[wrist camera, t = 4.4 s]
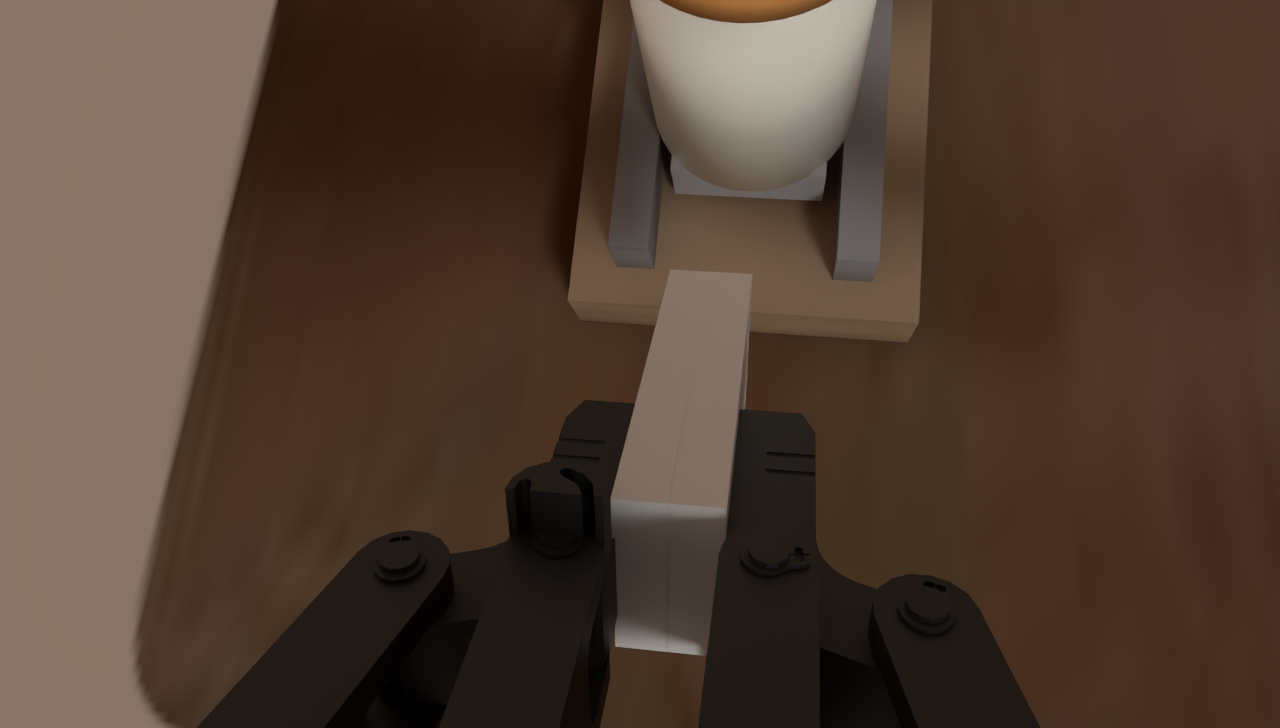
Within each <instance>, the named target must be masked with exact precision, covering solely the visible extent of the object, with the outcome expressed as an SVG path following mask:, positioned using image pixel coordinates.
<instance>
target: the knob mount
mask: <svg viewBox="0 0 1280 728" xmlns="http://www.w3.org/2000/svg"><path fill="white" fill-rule="evenodd" d="M932 1H933V0H877V1H876V6H875V11H874V16H873V21H872V26H871V31H870V36H869V41H868V46H867V51H866V56H865V61H864V66H863V71H862V76H861V81H860V86H859V91H858V96H857V101H856V106H855V111H854V116H853V119H852V123H851V126H850V128H849V131H848V133H847V135H846V137H845V139H844V141H843V142H842V144H841V145H840V147H839V148H838V150H837V151H836V152H835V153H834V155H833V156H832V157H831V158H830V159H829V160H828V161H827V169H826V180H825V186H824V192H823V198H822V201H810V200H790V199H770V198H750V197H730V196H710V195H690V194H675V189H674V184H673V179H672V174H671V169H670V168H671V158H672V154H671V153H670V152H669V150H668V148H667V147H666V145H665V143H664V142H663V140H662V138H661V135H660V133H659V130H658V127H657V123H656V119H655V115H654V110H653V106H652V101H651V97H650V92H649V87H648V83H647V78H646V73H645V69H644V64H643V59H642V55H641V50H640V45H639V41H638V36H637V32H636V27H635V22H634V18H633V13H632V8H631V4H630V0H603V8H602V16H601V25H600V33H599V41H598V50H597V58H596V67H595V75H594V83H593V92H592V100H591V109H590V117H589V125H588V134H587V142H586V151H585V159H584V167H583V176H582V184H581V193H580V201H579V209H578V218H577V226H576V235H575V243H574V251H573V260H572V268H571V277H570V285H569V293H568V302H569V303H570V305H571V306H572V308H573V309H574V311H575V312H576V314H577V316H578V317H579V319H580V320H583V321H598V322H612V323H627V324H642V325H656V323H657V319H658V315H659V311H660V307H661V304H662V300H663V296H664V292H665V288H666V285H667V281H668V277H669V273H670V269H672V270H690V271H708V272H726V273H744V274H752V292H751V310H750V329H749V332H760V333H775V334H790V335H805V336H820V337H834V338H849V339H864V340H879V341H894V342H908V341H909V339H910V337H911V336H912V334H913V332H914V331H915V329H916V327H917V325H918V324H919V309H920V286H921V262H922V238H923V214H924V191H925V167H926V143H927V119H928V96H929V72H930V48H931V25H932Z"/></svg>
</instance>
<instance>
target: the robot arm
mask: <svg viewBox="0 0 1280 728" xmlns="http://www.w3.org/2000/svg"><path fill="white" fill-rule="evenodd" d="M751 292H752V274H744V273H726V272H708V271H690V270H672V269H670V273H669V277H668V281H667V285H666V288H665V292H664V296H663V300H662V304H661V307H660V311H659V315H658V319H657V323H656V327H655V330H654V334H653V338H652V342H651V346H650V349H649V353H648V357H647V361H646V365H645V369H644V372H643V376H642V380H641V384H640V388H639V392H638V395H637V399H636V403H635V404H632V403H619V402H605V401H591V400H585V401H583V402H582V403H581V404H580V405H579V406H578V407H577V408H576V409H575V410H574V411H572V412H571V413H570V414H569V415H568V416H567V417H566V419H565V422H564V425H563V427H562V430H561V433H560V436H559V442H557V444H556V447H555V450H554V453H553V458H551V461H550V462H547V463H542V464H539V465H535V466H532V467H528V468H526V469H525V470H523V471H522V472H520V473H518V474H517V475H515V476H514V477H513V478H512V479H511V481H510V482H509V483H508V485H507V486H506V487H505V495H506V504H507V514H508V523H509V533H510V536H509V539H508V540H507V541H505V542H503V543H500V544H498V545H495V546H493V547H489V548H484V549H480V550H475V551H468V552H461V553H454V554H450V553H449V549H448V548H447V547H446V545H445V544H444V543H443V541H442V540H441V539H439V538H437V537H435V536H433V535H431V534H429V533H427V532H418V531H410V530H408V531H401V532H395V533H389V534H387V535H384V536H382V537H380V538H377V539H375V540H372V541H371V542H370V543H369V544H367V545H366V546H365V547H363V548H362V549H361V550H360V551H358V552H357V553H356V555H355V556H354V557H353V558H352V559H351V560H350V561H349V562H348V563H347V564H346V565H345V567H344V568H343V569H342V570H341V571H340V572H339V573H338V574H337V575H336V576H335V577H334V579H333V580H332V581H331V582H330V583H329V584H328V585H327V586H326V587H325V588H324V589H323V591H322V592H321V593H320V594H319V595H318V596H317V597H316V598H315V599H314V600H313V601H312V603H311V604H310V605H309V606H308V607H307V608H306V609H305V610H304V611H303V612H302V613H301V615H300V616H299V617H298V618H297V619H296V620H295V621H294V622H293V623H292V624H291V625H290V627H289V628H288V629H287V630H286V631H285V632H284V633H283V634H282V635H281V636H280V637H279V639H278V640H277V641H276V642H275V643H274V644H273V645H272V646H271V647H270V648H269V649H268V651H267V652H266V653H265V654H264V655H263V656H262V657H261V658H260V659H259V660H258V661H257V663H256V664H255V665H254V666H253V667H252V668H251V669H250V670H249V671H248V672H247V673H246V675H245V676H244V677H243V678H242V679H241V680H240V681H239V682H238V683H237V684H236V685H235V687H234V688H233V689H232V690H231V691H230V692H229V693H228V694H227V695H226V696H225V697H224V699H223V700H222V701H221V702H220V703H219V704H218V705H217V706H216V707H215V708H214V709H213V710H212V712H211V713H210V714H209V715H208V716H207V717H206V718H205V719H204V720H203V721H202V722H201V724H200V725H199V726H198V727H197V728H600V724H601V719H602V714H603V709H604V705H605V700H606V695H607V690H608V686H609V681H610V658H609V651H610V647H611V642H612V638H613V633H614V629H615V646H616V647H626V648H635V649H645V650H655V651H664V652H674V653H683V654H693V655H703V656H707V658H706V667H705V675H704V684H703V692H702V701H701V709H700V718H699V726H698V728H1040V726H1039V724H1038V722H1037V721H1036V719H1035V717H1034V715H1033V713H1032V711H1031V709H1030V707H1029V705H1028V703H1027V701H1026V699H1025V697H1024V695H1023V693H1022V691H1021V689H1020V687H1019V685H1018V683H1017V682H1016V680H1015V678H1014V676H1013V674H1012V672H1011V670H1010V668H1009V666H1008V664H1007V662H1006V660H1005V658H1004V656H1003V654H1002V652H1001V650H1000V648H999V646H998V645H997V643H996V641H995V639H994V637H993V635H992V633H991V631H990V629H989V627H988V625H987V623H986V621H985V619H984V617H983V615H982V613H981V611H980V609H979V608H978V606H977V605H976V604H975V603H974V601H973V600H972V599H971V598H970V596H969V595H968V594H967V593H966V592H964V591H963V590H961V589H960V588H958V587H957V586H955V585H954V584H952V583H951V582H948V581H945V580H942V579H939V578H936V577H933V576H930V575H914V574H909V575H904V576H900V577H896V578H892V579H890V580H889V581H887V582H886V583H885V584H883V585H882V586H880V587H879V588H878V589H875V588H872V587H869V586H866V585H863V584H860V583H858V582H855V581H853V580H851V579H848V578H846V577H844V576H843V575H841V574H840V573H838V572H837V571H835V570H834V569H832V568H831V567H830V565H829V564H828V563H827V562H826V561H825V560H824V559H823V558H822V556H821V554H820V552H819V550H818V548H817V543H816V490H815V433H814V431H813V430H812V428H811V427H810V425H809V423H808V422H807V420H806V419H805V417H804V416H803V414H799V413H785V412H772V411H758V410H745V401H746V384H747V366H748V347H749V329H750V310H751Z"/></svg>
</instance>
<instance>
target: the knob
mask: <svg viewBox="0 0 1280 728" xmlns="http://www.w3.org/2000/svg"><path fill="white" fill-rule="evenodd" d="M876 1H877V0H630V4H631V8H632V13H633V18H634V22H635V27H636V32H637V36H638V41H639V45H640V50H641V55H642V59H643V64H644V69H645V73H646V78H647V83H648V87H649V92H650V97H651V101H652V106H653V110H654V115H655V119H656V123H657V127H658V130H659V133H660V135H661V138H662V140H663V142H664V143H665V145H666V147H667V148H668V150H669V152H670V153H671V154H672V158H671V168H670V169H671V174H672V179H673V184H674V189H675V194H690V195H710V196H730V197H750V198H770V199H790V200H810V201H822V198H823V192H824V186H825V180H826V169H827V161H828V160H829V159H830V158H831V157H832V156H833V155H834V153H835V152H836V151H837V150H838V148H839V147H840V145H841V144H842V142H843V141H844V139H845V137H846V135H847V133H848V131H849V128H850V126H851V123H852V119H853V116H854V111H855V106H856V101H857V96H858V91H859V86H860V81H861V76H862V71H863V66H864V61H865V56H866V51H867V46H868V41H869V36H870V31H871V26H872V21H873V16H874V11H875V6H876Z"/></svg>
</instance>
